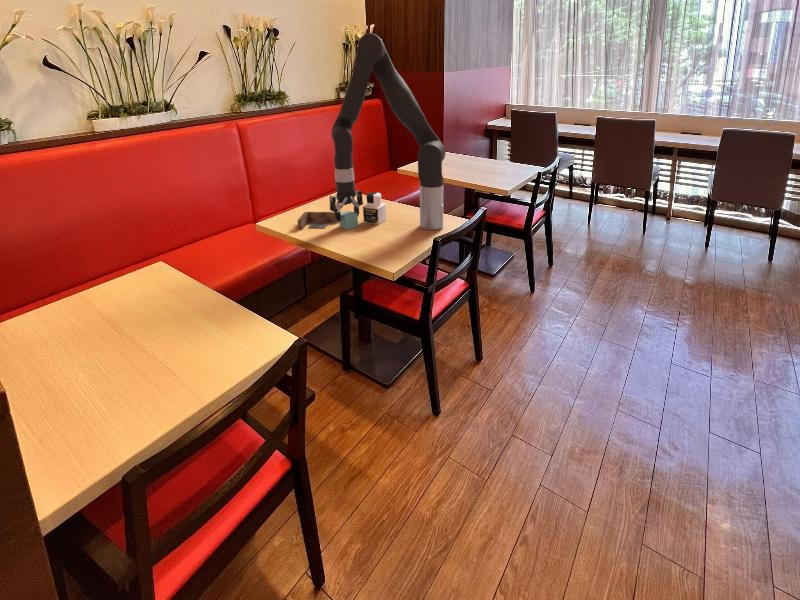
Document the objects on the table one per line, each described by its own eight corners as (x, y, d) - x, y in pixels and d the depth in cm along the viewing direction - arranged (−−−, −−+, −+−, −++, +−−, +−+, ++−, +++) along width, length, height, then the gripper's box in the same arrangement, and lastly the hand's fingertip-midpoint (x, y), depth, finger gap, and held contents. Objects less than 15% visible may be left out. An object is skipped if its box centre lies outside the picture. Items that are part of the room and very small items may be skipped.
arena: (341, 221, 206) (340, 211, 204) (335, 230, 196) (334, 220, 194) (306, 220, 207) (304, 211, 205) (298, 229, 198) (297, 220, 196)
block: (350, 223, 203) (349, 210, 200) (358, 226, 199) (357, 214, 197) (339, 226, 200) (338, 213, 197) (347, 230, 196) (345, 217, 194)
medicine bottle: (363, 222, 203) (361, 194, 197) (372, 217, 208) (370, 190, 203) (378, 225, 200) (376, 196, 194) (386, 219, 205) (385, 192, 200)
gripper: (354, 173, 197) (357, 212, 205) (324, 180, 189) (327, 219, 197) (365, 177, 192) (367, 216, 200) (334, 184, 184) (337, 224, 192)
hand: (347, 218), depth 198 cm, fingers open, 8 cm apart
